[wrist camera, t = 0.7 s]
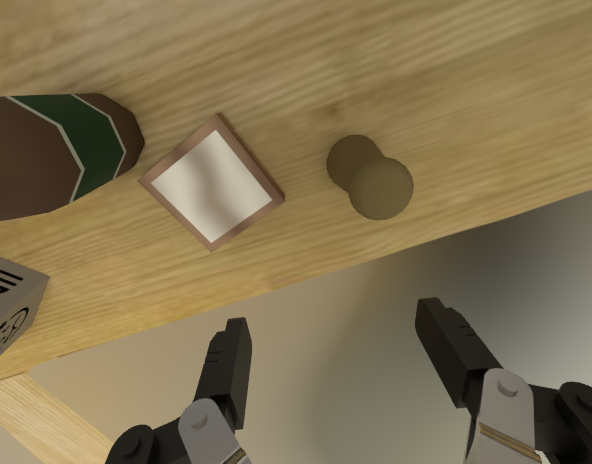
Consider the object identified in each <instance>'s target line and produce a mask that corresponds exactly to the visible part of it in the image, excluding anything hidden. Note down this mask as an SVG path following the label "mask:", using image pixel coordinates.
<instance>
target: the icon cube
mask: <svg viewBox="0 0 592 464" xmlns="http://www.w3.org/2000/svg"><path fill="white" fill-rule="evenodd" d="M49 277H50V276H48V275H45V274H43V273H40V272H38V271H35V270H33V269H30V268H27V267H25V266H22V265H20V264H17V263H15V262H12V261H10V260H7V259H5V258H2V257H0V355H1V354H2V353H3V352H4V351H5V350H6V349H7V348H8V347H10V346H11V345H12V344H13V343H14V342H15V341H16V340H17V339H18V338H19V337H20V336H21V335H22V334H23V333H24V332H25V331H26V330H27V329H28V328H29V327H30V326H31V325H32V323H33V321H34V318H35V315H36V312H37V310H38V307H39V304H40V302H41V299H42V296H43V293H44V291H45V288H46V285H47V283H48V280H49Z"/></svg>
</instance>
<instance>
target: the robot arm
mask: <svg viewBox="0 0 592 464" xmlns="http://www.w3.org/2000/svg"><path fill="white" fill-rule="evenodd" d="M415 328H416V332H417V335H418V337H419V339H420V341H421V343H422V345H423V347H424V349H425V350H426V352H427V354H428V356H429V358H430V360H431V362H432V364H433V365H434V367H435V369H436V371H437V373H438V375H439V377H440V378H441V381H442V382H443V384H444V386H445V388H446V390H447V392H448V394H449V396H450V397H451V399H452V401H453V403H454V405H455V407H456V408H465V407H467V409H468V411H469V413H470V414H471V416H470V420H469V426H468V433H467V439H466V446H465V453H464V460H463V464H542V461H541V457H540V456H539V455H538V454H536V452H535V450H538V451H542V452H543V453H544V454H545V455H546V457H547V458H548V460H549V462H550V463H551V464H592V387H590V386H588V385H585V384H582V383H578V382H566V383H564V384H562V386H561V387H560V389H559V390H556V389H551V388H546V387H540V386H535V385H531V384H528V383H526V382H525V381H524V380H523V379H522V378H521V377H519V376H518V375H516V374H514V373H513V372H511V371H508V370H505V369H504V368H503V367H502V366H501V365H500V363H499V362H498V361H497V360H496V358H495V357H494V356H493V354H492V353H491V352H490V351H489V349H488V348H487V347H486V345H485V344H484V343H483V342H482V340H481V339H480V338H479V336H477V335H476V332H475V331H474V330H473V329H472V328H471V327H470V325H469V323H468V322H467V321H466V320H465V318H464V317H463V316H462V315H461V314H460V313H458V312H457V311H456V310H454V309H453V308H445V307H444V305H443V304H442V302H441V301H440V300H439V299H438V298H437V297H432V298H423V299H419V300H418V305H417V312H416V319H415ZM251 356H252V341H251V337H250V333H249V329H248V326H247V322H246V319H245V317H241V318H233V319H228V321H227V325H226V329H225V331H221V332H217V333H216V335H215V336H214V337H213V339H212V340H211V341H210V344H209V348H208V351H207V356H206V358H205V364H204V366H203V369H202V373H201V376H200V380H199V384H198V387H197V390H196V394H195V397H194V400H193V402H192V404H190V405H189V406H188V407H187V408H186V409H185V410H184V412H183V413H182V415H181V416H180V417H179V418H177V419H176V420H174V421H172V422H169V423H167V424H165V425H163V426H160V427H158V428H156V429H154V430H152V429H151V428H150V427H149V426H147V425H137V426H134V427H132V428H130V429H128V430H127V431H126V432H124V433H123V434H122V435H121V436H120V437H119V438H118V439H117V441H116V442H115V443H114V445H113V446H112V448H111V450H110V453H109V455H108V457H107V460H106V462H105V464H252V463H251V461H250V459H249V458H248V456H247V454H246V453H245V451H244V450H243V449H242V448H241V446H240V445H239V443H238V441H237V440H236V438H235V436H234V434H235V430H239V429H243V425H244V416H245V407H246V399H247V391H248V382H249V372H250V365H251Z"/></svg>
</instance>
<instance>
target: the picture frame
mask: <svg viewBox="0 0 592 464" xmlns="http://www.w3.org/2000/svg"><path fill="white" fill-rule="evenodd" d="M137 181H138V182H139V183H140V184H141V185H142V186H143V187H144V188H145V189H146V190H147V191H148V192H149V193H150V194H151V195H152V196H153V197H154V198H155V199H156V200H157V201H158V202H159V203H160V204H162V205H163V206H164V207H165V208H166V209H167V210H168V211H169V212H170V213H171V214H172V215H173V216H174V217H175V218H176V219H177V220H178V221H179V222H180V223H181V224H182V225H183V226H184V227H185V228H186V229H187V230H188V231H189V232H190V233H191V234H193V235H194V236H195V237H196V238H197V239H198V240H199V241H200V242H201V243H202V244H203V245H204V246H205V247H206V248H207V249H208V250H209V251H210V252H213V251H214V250H216V249H217V248H218V247H220V246H221V245H223V244H224V243H226V242H227V241H229V240H230V239H231V238H233V237H234V236H236V235H237V234H239V233H240V232H242V231H243V230H244V229H246V228H247V227H249V226H250V225H252V224H253V223H255V222H256V221H257V220H259V219H260V218H262V217H263V216H265V215H266V214H268V213H269V212H270V211H272V210H273V209H275V208H276V207H278V206H279V205H281V204H282V203H283V202H285V195H284V194H283V192H282V191H281V190H280V189H279V187H278V186H277V185H276V183H275V182H274V181H273V180H272V178H271V177H270V176H269V174H268V173H267V172H266V171H265V169H264V168H263V167H262V165H261V164H260V163H259V162H258V160H257V159H256V158H255V156H254V155H253V154H252V153H251V151H250V150H249V149H248V147H247V146H246V145H245V143H244V142H243V141H242V140H241V138H240V137H239V136H238V134H237V133H236V132H235V131H234V129H233V128H232V127H231V125H230V124H229V123H228V122H227V120H226V119H225V118H224V116H223V115H222V114H221V113H218V114H216V115H215V116H214V117H212V118H211V119H210V120H209V121H208V122H207V123H205V124H204V125H203V126H202V127H201V128H199V129H198V130H197V131H196V132H195V133H193V134H192V135H191V136H190V137H189V138H187V139H186V140H185V141H184V142H183V143H181V144H180V145H179V146H178V147H177V148H175V149H174V150H173V151H172V152H171V153H169V154H168V155H167V156H166V157H165V158H164V159H162V160H161V161H160V162H159V163H158V164H156V165H155V166H154V167H153V168H152V169H150V170H149V171H148V172H147V173H146V174H144V175H143V176H142V177H141V178H140V179H138V180H137Z"/></svg>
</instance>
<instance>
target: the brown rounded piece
mask: <svg viewBox="0 0 592 464" xmlns="http://www.w3.org/2000/svg"><path fill="white" fill-rule="evenodd" d="M327 171H328V174H329V176H330V178H331V179H332V180H333V182H334V183H335V184H337V185H338V186H339V187H341V188H342V189H343V190H345V191H346V192H347V193H349V198H350V201H351V204H352V205H353V207H354V208H355V209H356V211H357V212H358V213H359V214H361V215H363V216H364V217H366V218H368V219H373V220H386V219H389V218H391V217H394V216H396V215H397V214H399V213H400V212H402V211H403V210H404V209H405V207H406V206H407V205H408V203H409V201H410V199H411V197H412V194H413V187H414V185H413V180H412V176H411V174H410V173H409V171H408V169H407V168H406V166H404V165H403V164H401V163H400V162H399V161H397V160H395V159H391V158H387V157H384V155H383V154H382V153H381V152H380V150H379V149H378V148H377V146H376V145H375V144H374V142H373V141H371V140H370V139H368V138H367V137H364V136H360V135H351V136H347V137H345V138H343V139H341V140H340V141H338V142H337V143H336V144H335V145H334V146H333V148H332V149H331V151H330V152H329V155H328V159H327Z"/></svg>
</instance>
